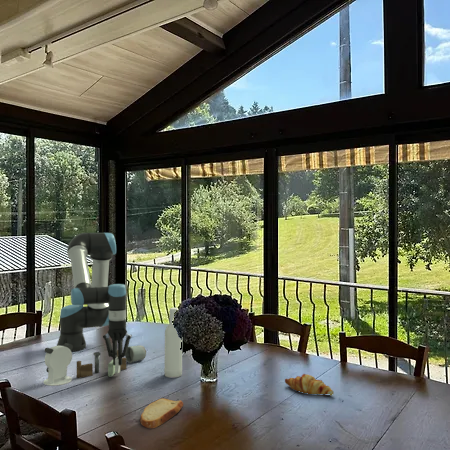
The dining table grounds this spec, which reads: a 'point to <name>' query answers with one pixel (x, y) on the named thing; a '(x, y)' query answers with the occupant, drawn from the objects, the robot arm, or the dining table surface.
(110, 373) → the gate
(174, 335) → the bottle
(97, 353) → the post
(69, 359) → the cream upright rounded piece
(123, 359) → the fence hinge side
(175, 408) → the slice of bread
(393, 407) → the dining table surface
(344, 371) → the dining table surface
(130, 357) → the ceramic mug
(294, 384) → the croissant
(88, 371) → the fence far side
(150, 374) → the dining table surface
